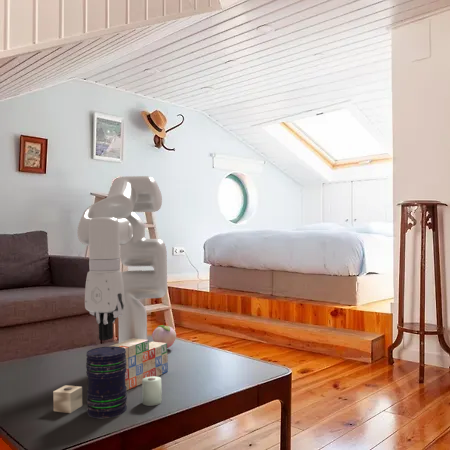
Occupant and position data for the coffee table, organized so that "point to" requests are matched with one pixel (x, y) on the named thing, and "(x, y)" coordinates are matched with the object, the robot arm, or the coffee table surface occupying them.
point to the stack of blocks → (143, 360)
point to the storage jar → (106, 382)
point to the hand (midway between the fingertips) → (106, 339)
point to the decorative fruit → (164, 335)
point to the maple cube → (67, 398)
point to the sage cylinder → (151, 391)
